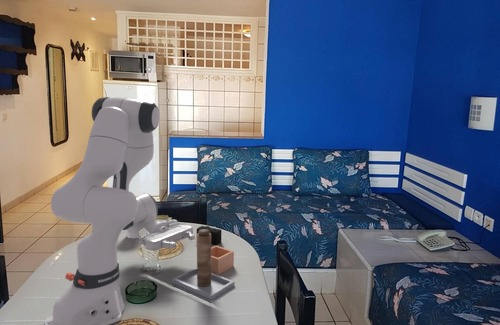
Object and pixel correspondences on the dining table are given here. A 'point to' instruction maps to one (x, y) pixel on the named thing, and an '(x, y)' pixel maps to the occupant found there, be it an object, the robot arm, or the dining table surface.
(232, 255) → the orange open box
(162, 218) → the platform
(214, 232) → the digital camera
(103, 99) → the robot arm
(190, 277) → the tray
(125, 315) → the dining table surface
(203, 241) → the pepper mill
